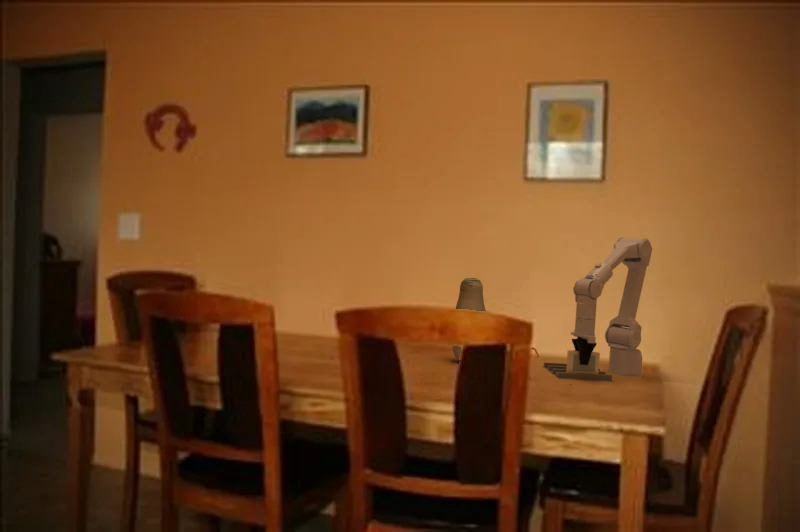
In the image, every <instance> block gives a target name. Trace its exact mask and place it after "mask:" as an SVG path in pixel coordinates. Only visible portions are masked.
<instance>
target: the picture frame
mask: <svg viewBox="0 0 800 532" xmlns="http://www.w3.org/2000/svg"><path fill="white" fill-rule="evenodd" d="M566 355H567V356H566V364H567V366H566V372H568V373H586V374H598V372H599V369H600V368H599V367H600V358H601V353H600V352H599V351H592V354H591V356H590V360H589V363H588V365H581V364H580V359H579V351H575V349H574V350H571V349H567V354H566Z"/></svg>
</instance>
